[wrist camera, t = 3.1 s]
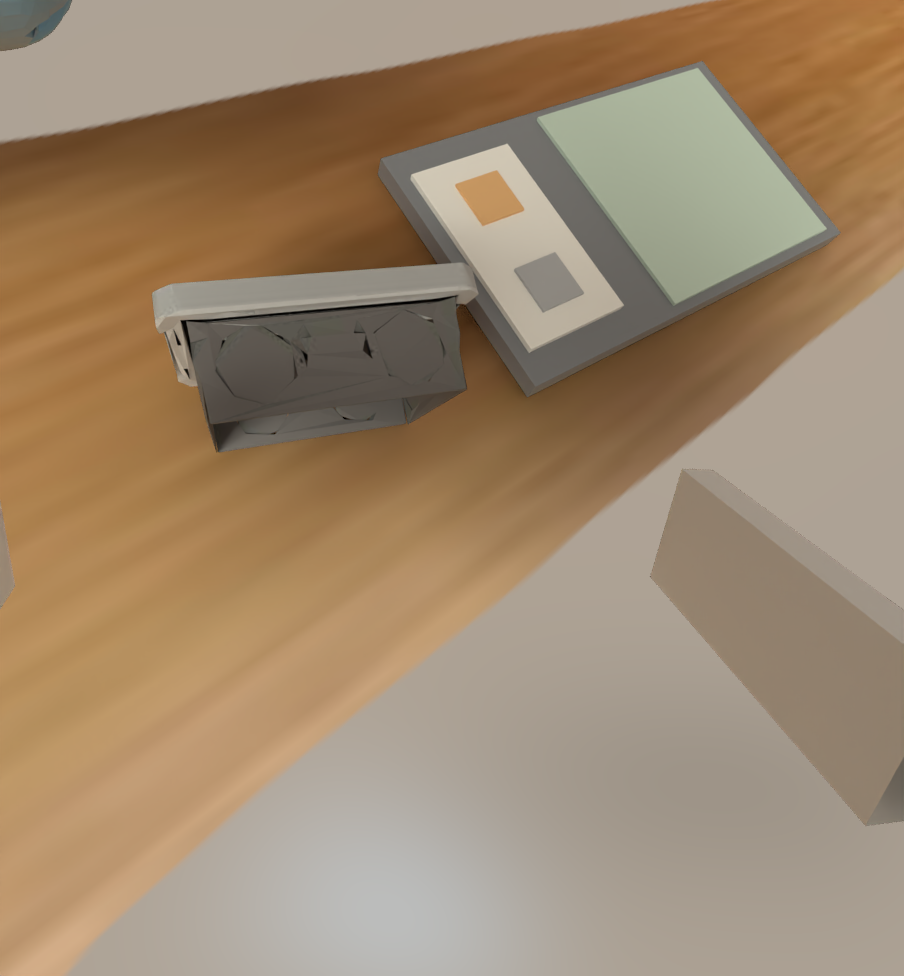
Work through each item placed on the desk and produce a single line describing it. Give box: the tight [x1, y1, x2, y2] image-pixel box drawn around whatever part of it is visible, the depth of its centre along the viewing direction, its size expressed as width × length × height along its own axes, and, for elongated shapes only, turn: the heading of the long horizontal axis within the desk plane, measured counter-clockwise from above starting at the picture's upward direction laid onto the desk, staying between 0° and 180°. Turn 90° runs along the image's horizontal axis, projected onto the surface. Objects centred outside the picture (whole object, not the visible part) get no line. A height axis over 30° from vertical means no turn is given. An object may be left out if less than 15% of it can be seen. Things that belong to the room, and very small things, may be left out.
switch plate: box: [378, 61, 840, 397], centre depth 34 cm, size 22×13×1 cm, turn 122°
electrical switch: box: [152, 262, 479, 452], centre depth 23 cm, size 9×5×9 cm, turn 105°
